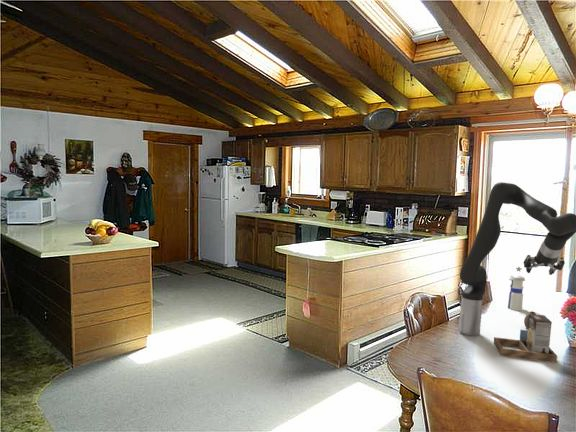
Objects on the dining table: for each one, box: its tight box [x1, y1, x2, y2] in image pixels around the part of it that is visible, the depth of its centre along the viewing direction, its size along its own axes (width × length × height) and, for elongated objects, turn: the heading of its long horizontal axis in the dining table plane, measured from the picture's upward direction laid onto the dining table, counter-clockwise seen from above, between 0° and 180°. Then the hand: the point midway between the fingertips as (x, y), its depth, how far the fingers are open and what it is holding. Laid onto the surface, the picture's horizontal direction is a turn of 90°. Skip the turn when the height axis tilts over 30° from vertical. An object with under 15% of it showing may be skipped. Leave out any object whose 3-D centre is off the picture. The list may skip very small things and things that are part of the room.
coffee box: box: [526, 313, 553, 354], centre depth 179 cm, size 9×6×16 cm
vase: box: [523, 310, 537, 330], centre depth 213 cm, size 7×7×9 cm
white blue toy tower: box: [507, 266, 526, 312], centre depth 248 cm, size 8×9×25 cm
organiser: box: [493, 328, 558, 364], centre depth 181 cm, size 21×14×8 cm, turn 75°
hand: (538, 272), depth 183 cm, fingers open, 8 cm apart
